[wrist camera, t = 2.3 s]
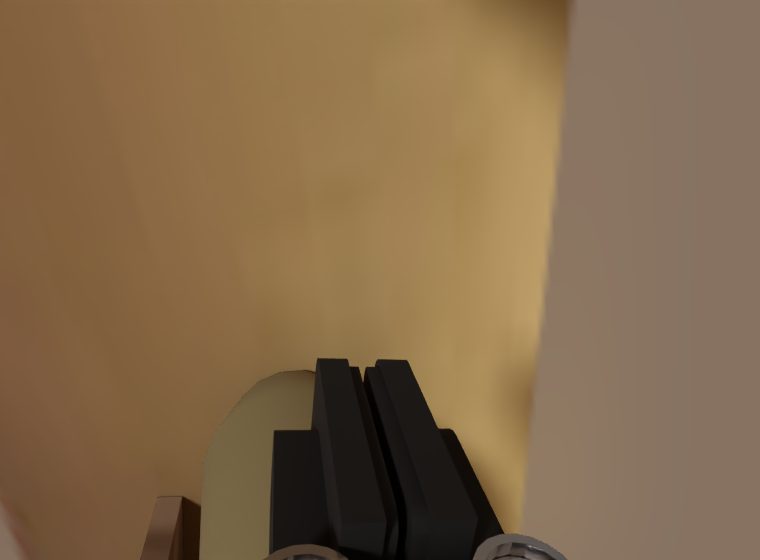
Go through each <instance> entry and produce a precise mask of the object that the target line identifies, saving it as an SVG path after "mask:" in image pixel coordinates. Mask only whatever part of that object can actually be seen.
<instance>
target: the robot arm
mask: <svg viewBox="0 0 760 560" xmlns="http://www.w3.org/2000/svg"><path fill="white" fill-rule="evenodd" d="M263 560H567V559H566V558H565V556H564V555H562V554H561V553H560V552H558V551H557V550H555V549H554V548H553V547H551V546H550V545H548V544H546V543H544V542H542V541H539V540H537V539H535V538H532V537H529V536H524V535H519V534H504V532H503V530H502V528H501V526H500V524H499V522H498V520H497V517H496V515H495V513H494V511H493V509H492V507H491V505H490V503H489V501H488V499H487V497H486V495H485V493H484V491H483V489H482V487H481V485H480V483H479V481H478V479H477V477H476V475H475V473H474V471H473V469H472V467H471V464H470V462H469V460H468V458H467V456H466V454H465V452H464V450H463V448H462V446H461V444H460V442H459V440H458V438H457V436H456V434H455V433H454V431H453V430H451V429H438V427H437V425H436V423H435V421H434V418H433V416H432V414H431V412H430V410H429V407H428V405H427V403H426V401H425V398H424V396H423V394H422V392H421V389H420V387H419V385H418V383H417V381H416V378H415V376H414V374H413V372H412V369H411V367H410V365H409V363H408V361H407V360H384V359H378V360H377V361H376V364H375V367H366V369H365V374H364V382H363V381H362V377H361V374H360V370H359V367H349V363H348V360H347V359H326V358H318V359H317V364H316V373H315V385H314V397H313V410H312V422H311V430H274V435H273V451H272V470H271V492H270V525H269V556H268V557H266V558H265V559H263Z"/></svg>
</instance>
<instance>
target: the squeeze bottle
mask: <svg viewBox="0 0 760 560" xmlns="http://www.w3.org/2000/svg"><path fill="white" fill-rule="evenodd" d="M314 385H315V373H312V372H309V371H305V370H301V371H288V372H279V373H277V374H275V375H272V376H270V377H268V378H266V379H263V380H261V381H259V382H258V383H257V384H256V385H254V386H253V387H252V388H251V389H250V390H249V391H248V392H247V393H246V394H245V395H244V396H243V397H242V399H241V400H240V401H239V402H238V404H237V405H236V406H235V407H234V409H233V410H232V411H231V412H230V414H229V415H228V416H227V417H226V419H225V420H224V421H223V422H222V424H221V425H220V426H219V428H218V429H217V430H216V431H215V433H214V434H213V437H212V440H211V442H210V445H209V448H208V450H207V453H206V455H205V458H204V461H203V471H202V499H201V526H200V553H199V560H263V559H265V558H266V557H268V556H269V525H270V492H271V470H272V451H273V435H274V430H311V422H312V410H313V397H314Z"/></svg>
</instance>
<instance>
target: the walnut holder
mask: <svg viewBox="0 0 760 560" xmlns="http://www.w3.org/2000/svg"><path fill="white" fill-rule="evenodd" d="M140 560H183V524H182V496H179V497H157V501H156V504H155V508H154V512H153V515H152V519H151V522H150V526H149V530H148V533H147V537H146V540H145V544H144V548H143V551H142V555H141V558H140Z"/></svg>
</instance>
